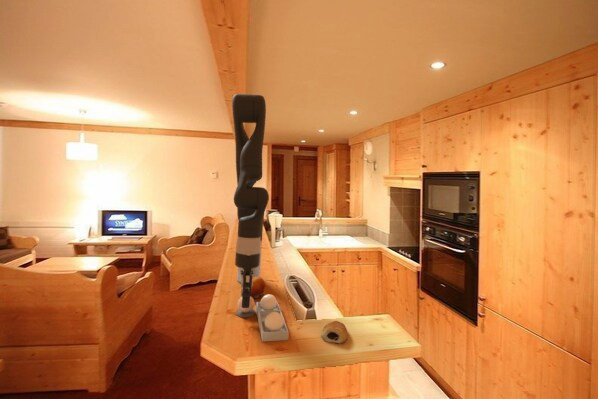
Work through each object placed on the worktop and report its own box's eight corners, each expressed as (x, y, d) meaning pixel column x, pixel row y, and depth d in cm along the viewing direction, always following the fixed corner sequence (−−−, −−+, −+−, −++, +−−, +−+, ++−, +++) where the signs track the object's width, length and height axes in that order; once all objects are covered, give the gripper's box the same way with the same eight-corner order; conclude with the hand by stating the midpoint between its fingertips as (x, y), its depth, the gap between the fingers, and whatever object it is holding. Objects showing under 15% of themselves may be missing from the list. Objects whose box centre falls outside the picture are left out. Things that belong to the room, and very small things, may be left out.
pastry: (327, 325, 87) (328, 313, 87) (349, 330, 85) (350, 318, 85) (320, 341, 78) (321, 327, 78) (345, 347, 76) (346, 333, 76)
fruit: (263, 298, 100) (254, 277, 101) (245, 306, 102) (236, 285, 103) (273, 290, 107) (264, 271, 108) (256, 298, 110) (247, 278, 111)
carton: (256, 309, 94) (256, 302, 94) (277, 308, 96) (277, 301, 96) (261, 341, 76) (262, 332, 76) (288, 339, 77) (288, 331, 77)
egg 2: (263, 326, 82) (264, 309, 81) (281, 326, 83) (282, 308, 83) (265, 336, 77) (266, 317, 76) (284, 335, 78) (285, 316, 78)
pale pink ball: (237, 308, 93) (238, 292, 93) (253, 308, 94) (254, 292, 94) (237, 316, 88) (238, 299, 88) (254, 315, 89) (255, 298, 89)
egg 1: (259, 307, 94) (260, 291, 94) (275, 307, 95) (276, 291, 95) (260, 314, 89) (261, 298, 89) (277, 314, 90) (278, 298, 90)
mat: (235, 309, 93) (235, 308, 93) (254, 308, 95) (254, 307, 95) (236, 317, 88) (236, 316, 87) (255, 317, 89) (255, 315, 89)
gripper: (235, 245, 96) (232, 293, 97) (235, 256, 82) (232, 312, 83) (258, 246, 98) (255, 293, 98) (262, 256, 84) (258, 311, 84)
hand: (245, 301), depth 90 cm, fingers open, 8 cm apart
